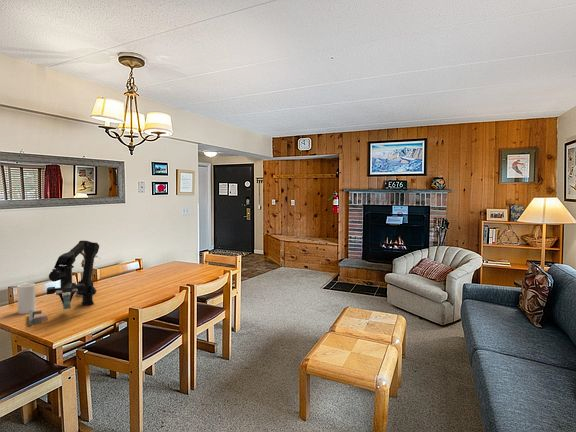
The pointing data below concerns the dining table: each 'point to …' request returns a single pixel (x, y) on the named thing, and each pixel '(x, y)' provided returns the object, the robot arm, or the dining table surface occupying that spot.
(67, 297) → the scraper
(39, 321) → the stop bay
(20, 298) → the cup
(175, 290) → the dining table surface
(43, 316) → the tile
